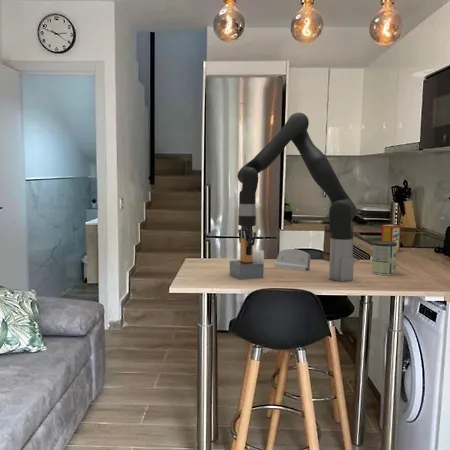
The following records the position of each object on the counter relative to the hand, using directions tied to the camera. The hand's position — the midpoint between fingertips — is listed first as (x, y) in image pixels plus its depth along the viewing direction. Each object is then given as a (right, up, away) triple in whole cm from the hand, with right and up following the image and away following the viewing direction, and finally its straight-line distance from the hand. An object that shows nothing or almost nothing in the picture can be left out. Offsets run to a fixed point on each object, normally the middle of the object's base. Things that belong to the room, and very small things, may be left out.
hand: (246, 254), depth 204 cm
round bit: (+5, -8, +14) cm, 17 cm away
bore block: (0, -9, +1) cm, 10 cm away
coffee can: (+62, -9, +10) cm, 64 cm away
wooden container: (+50, -6, +45) cm, 68 cm away
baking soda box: (+88, -3, +74) cm, 115 cm away
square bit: (0, -3, 0) cm, 3 cm away
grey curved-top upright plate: (+23, -8, +21) cm, 32 cm away
